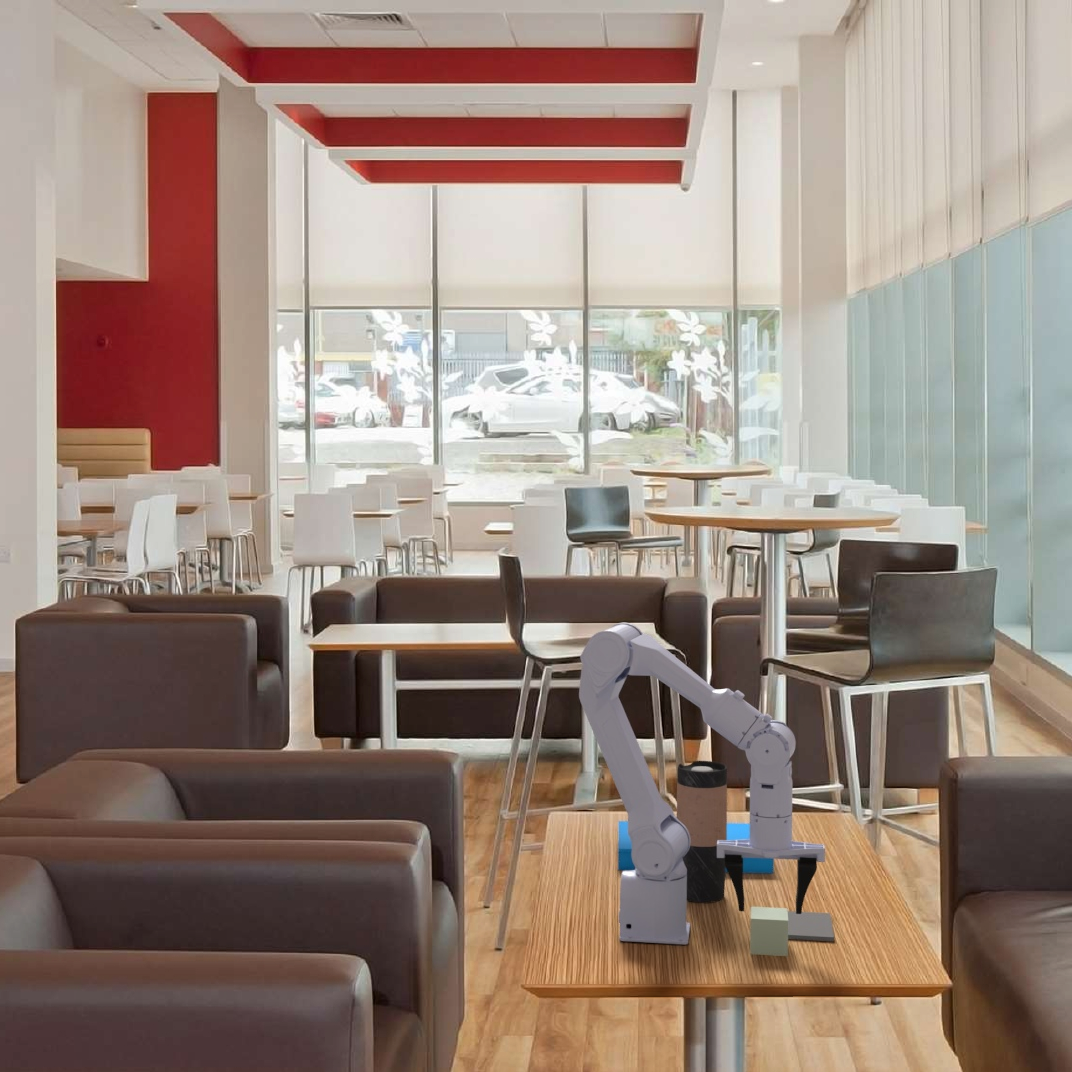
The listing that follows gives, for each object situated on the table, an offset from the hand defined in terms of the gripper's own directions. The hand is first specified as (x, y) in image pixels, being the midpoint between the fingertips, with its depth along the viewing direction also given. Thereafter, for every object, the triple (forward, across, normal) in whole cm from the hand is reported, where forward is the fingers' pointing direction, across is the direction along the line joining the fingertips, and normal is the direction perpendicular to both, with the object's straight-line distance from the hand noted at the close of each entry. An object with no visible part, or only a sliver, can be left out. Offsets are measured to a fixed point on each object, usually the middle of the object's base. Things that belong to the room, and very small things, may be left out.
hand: (769, 910), depth 195 cm
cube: (+5, 0, 0) cm, 5 cm away
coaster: (+5, +4, +9) cm, 11 cm away
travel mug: (+5, -10, +21) cm, 24 cm away
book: (+6, -12, +41) cm, 43 cm away
